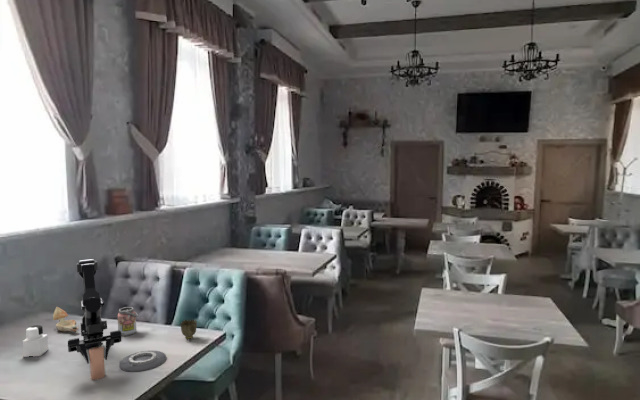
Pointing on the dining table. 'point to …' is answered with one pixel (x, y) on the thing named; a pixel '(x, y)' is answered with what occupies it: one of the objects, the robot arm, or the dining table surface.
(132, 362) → the metal collar
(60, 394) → the dining table surface
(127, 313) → the decorated jar
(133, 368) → the charcoal plate
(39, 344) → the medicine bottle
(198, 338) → the dining table surface
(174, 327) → the dining table surface
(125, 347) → the dining table surface
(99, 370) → the terracotta peg
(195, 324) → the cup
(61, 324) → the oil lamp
